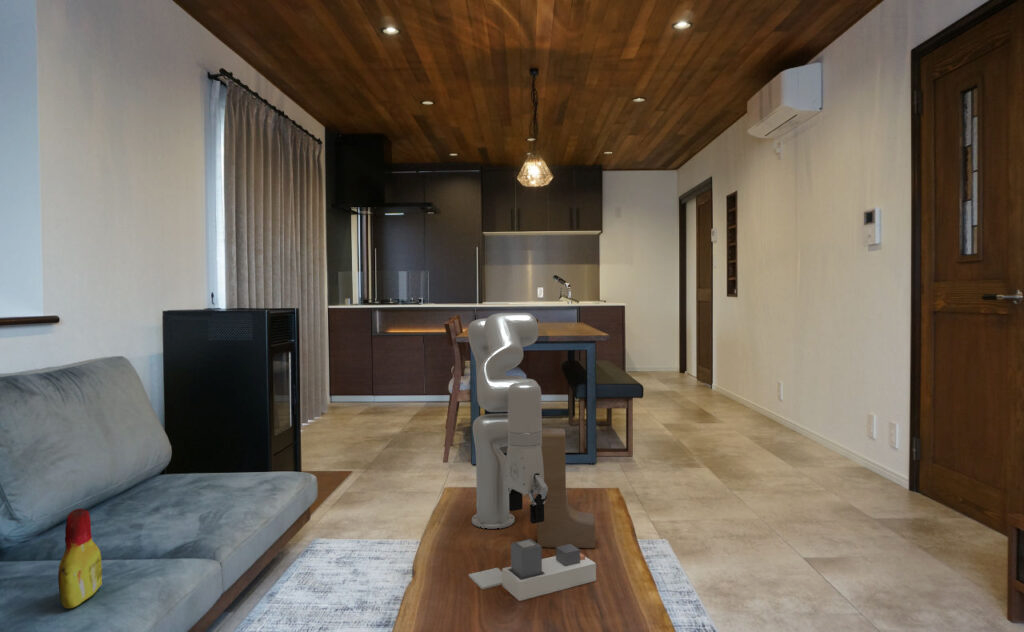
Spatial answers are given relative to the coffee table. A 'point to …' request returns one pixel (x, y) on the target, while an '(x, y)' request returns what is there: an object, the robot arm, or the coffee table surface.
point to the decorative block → (561, 500)
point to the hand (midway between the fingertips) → (526, 515)
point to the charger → (526, 559)
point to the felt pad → (487, 578)
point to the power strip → (552, 574)
